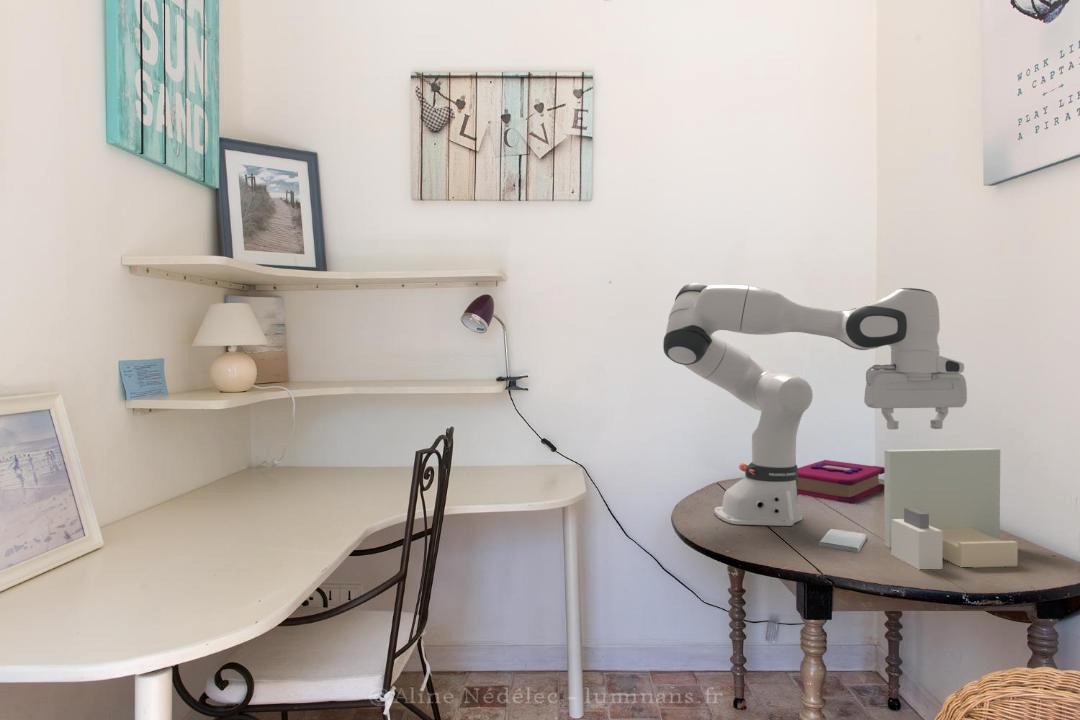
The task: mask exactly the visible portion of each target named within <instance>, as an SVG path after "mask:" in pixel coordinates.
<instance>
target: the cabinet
mask: <svg viewBox="0 0 1080 720" xmlns="http://www.w3.org/2000/svg"><path fill="white" fill-rule="evenodd" d="M942 546H943V531H941V530H939V529H937V528H934V527H932V526H930V525H929V514H928V513H925V512H923V511H920V510H918V509H915V508H904V519H892V522H891V548H890V549H891V551H890V552H891V553H890V554H891V556H892V555H893V556H892V557H894V556H895V557H894V558H896V557H897V558H899V559H901V560H902V561H901V560H900V561H901V562H903V561H905V562H906V563H905V562H904V563H905V564H907V563H908V564H910V565H911V567H912V566H913V567H912V568H914V567H915V568H914V569H916V568H917V569H942V570H943V558H942ZM897 558H896V559H897ZM899 559H898V560H899ZM908 564H907V565H908ZM910 565H909V566H910ZM917 569H916V570H917Z"/></svg>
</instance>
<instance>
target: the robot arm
mask: <svg viewBox="0 0 1080 720" xmlns="http://www.w3.org/2000/svg"><path fill="white" fill-rule="evenodd" d="M940 322H941V321H940V309H939V303H938V299H937V297H936V295H935V294H934V293H933V292H932V291H930V290H927V289H922V288H914V287H913V288H912V287H901V288H900V287H899V288H897V289H895V290H894V291H893V292H891V293H890V294H888V295H886V296H885V297H881V298H880V299H878V300H875V301H873V302H871V303H868V304H865V305H862V306H859V307H854V308H850V309H847V310H832V309H825V308H818V307H812V306H807V305H806V306H805V305H802V304H798V303H797V302H794V301H791V300H790V299H789V298H787V297H785V296H784V295H782V294H781V293H778V292H776V291H774V290H771V289H767V288H763V287H758V286H751V285H741V284H713V285H712V284H711V285H706V284H702V283H688V284H686V285H684V286H683V287H682V288H681V289H680V290H679V291H678V293H677V295H676V296H675V299H674V303H673V305H672V307H671V310H670V312H669V316H668V321H667V325H666V331H665V335H664V337H663V344H662V345H663V346H662V347H663V353H664V354H665V356H666V357H667V358H668V359H669V360H671V361H673V363H676V364H679V365H683V367H685V368H687V369H689V370H690V371H691V372H692V373H694V374H696V375H697V376H699V377H701V378H702V379H703V380H704V379H705V380H707V381H708V382H710V383H712V384H713V385H715V386H718V387H719V388H721V389H723V390H724V391H727V392H728V393H729V394H731V395H732V396H734V397H735V398H736V399H738V400H740V402H742V403H744V404H745V405H747V406H749V407H751V409H754V410H756V411H760V417H759V421H758V425H757V426H756V429H755V430H754V431H753V433H752V436H751V462H750V463H749V464H748V465H747V464H745V463H744V462H741V463H739V465H738V469H739V470H740V471H742V472H745V473H744V474H745V476H744V477H742V478H741V479H740V480H738V481H737V482H736V483H734V484H733V485H732V486H730V487H729V488H727V489H726V491H725V492H724V494H723V498H722V506H716V507H715V508H714V512H713V513H714V515H715V516H716V517H717V518H719V519H720V520H722V521H723V522H726V523H729V524H731V525H747V526H748V525H749V526H750V525H751V526H753V525H754V526H779V527H780V526H781V527H785V526H787V527H790V526H791V527H792V526H794V525H795V523H798V522H800V521H802V520H803V514H802V511H801V508H800V504H799V503H800V502H799V498H798V494H797V486H796V485H797V482H798V470H797V468H798V465H797V464H796V462H797V461H796V459H797V458H796V457H797V456H796V455H797V434H798V429H799V426H800V423H801V420H802V417H803V415H804V413H805V412H806V411H807V409H809V407H810V406H811V405H812V402H813V396H814V395H813V389H812V387H811V385H810V383H809V382H808V381H806V379H803V378H802V377H800V376H798V375H796V374H793V373H788V372H778V371H773V370H769V369H767V368H764V367H763V366H761V365H760V364H758V363H757V362H755V360H754V359H752V358H751V356H750V354H747V353H746V352H744V351H742V350H740V349H739V348H737V347H735V346H733V345H731V344H730V343H727V342H726V341H724V340H722V339H721V338H718V337H716V336H714V335H713V334H714V333H716V332H717V331H728V332H732V333H739V334H745V335H755V336H756V335H758V336H759V335H767V336H769V335H778V334H783V333H784V334H785V333H801V334H803V333H804V334H808V335H815V336H823V337H829V338H832V339H835V340H838V341H840V342H841V343H843V344H845V345H847V347H850V348H851V349H855V350H857V351H868V350H874V349H879V348H880V347H881V348H882V347H883V346H889V347H890V364H874V365H873V364H872V366H871V367H869V368H868V369H867V370H866V372H865V381H866V382H865V383H866V384H865V389H864V398H863V400H864V401H863V402H864V404H865V405H866V406H867V408H872V409H881V414H882V416H883V418H884V420H886V427H887V429H888V430H898V429H899V421H898V420H895V419H894V417H893V415H892V414H894V411H895V410H894V409H928V408H929V409H930V408H931V409H933V408H934V409H935V410H934V411H935V412H936V416H934V419H930V428H931V429H934V430H942V429H943V427H944V425H943V423H944V422H943V421H945V419H946V417H947V416H948V414H949V408H963V407H964V406H965V405H966V404H967V401H968V400H967V399H968V391H967V389H968V388H967V381H966V377H965V376H964V375H963V374H962V373H963V372H964V370H965V364H964V363H963V362H961V361H958V360H955V359H950V358H948V357H945V356H941V355H940V346H939V343H938V337H939V332H940V329H941V328H940Z"/></svg>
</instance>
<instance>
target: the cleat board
mask: <svg viewBox="0 0 1080 720" xmlns="http://www.w3.org/2000/svg"><path fill="white" fill-rule="evenodd" d="M884 468H885V473H884V489H883V490H884V491H883V493H884V500H883V501H884V504H883V505H884V506H883V507H884V509H883V511H884V516H883V518H884V519H883V521H884V523H883V526H884V527H883V528H884V530H883V532H884V534H883V535H884V536H883V537H884V539H883V542H884V543H883V546H885V545H886V546H885V547H887V548H890V549H891V522H892V519H904V508H915V509H918V510H920V511H923V512H925V513H928V514H929V525H930V526H932V527H934V528H937V529H939V530H941V531H943V546H942V559H943V558H944V559H943V560H945V559H946V560H945V561H947V560H948V561H947V562H949V561H950V562H949V563H951V562H952V563H951V564H953V563H954V564H953V565H955V564H956V565H955V566H957V565H958V566H957V567H959V566H960V567H959V568H961V567H973V568H1000V567H1001V568H1003V567H1005V566H1006V567H1007V568H1008V567H1018V551H1019V550H1018V549H1019V548H1018V541H1016V540H1001V539H1000V536H1001V535H1000V534H1001V533H1000V531H1001V530H1000V529H1001V524H1000V523H1001V521H1000V518H1001V449H1000V448H995V447H976V448H975V447H974V448H973V447H972V448H969V447H968V448H967V447H965V448H930V449H929V448H923V449H922V448H920V449H919V448H918V449H917V448H914V449H913V448H912V449H911V448H910V449H884Z"/></svg>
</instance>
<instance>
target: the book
mask: <svg viewBox="0 0 1080 720" xmlns="http://www.w3.org/2000/svg"><path fill="white" fill-rule="evenodd" d="M797 470H798V482H797V485H796V486H797V495H800V494H801V496H806V495H807V497H811V496H813V498H817V497H818V498H817V499H823V498H824V500H828V499H829V500H830V501H834V502H839V503H844V504H845V503H846V504H854V503H857V502H858V501H859V499H860V500H861V498H862V499H864V498H866V497H869V496H871V495H873V494H875V492H876V493H877V491H878V492H880V491H883V490H884V485H885V483H880V481H879V475H883V474H885V466H877V465H867V464H859V463H851V462H843V461H837V460H831V459H830V460H829V459H823V460H820V461H816V462H814V463H809V464H807V465H804V466H800V467H797ZM882 489H883V490H882ZM879 490H880V491H879ZM870 494H871V495H870ZM868 495H869V496H868ZM863 497H864V498H863ZM829 500H828V501H829Z"/></svg>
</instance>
